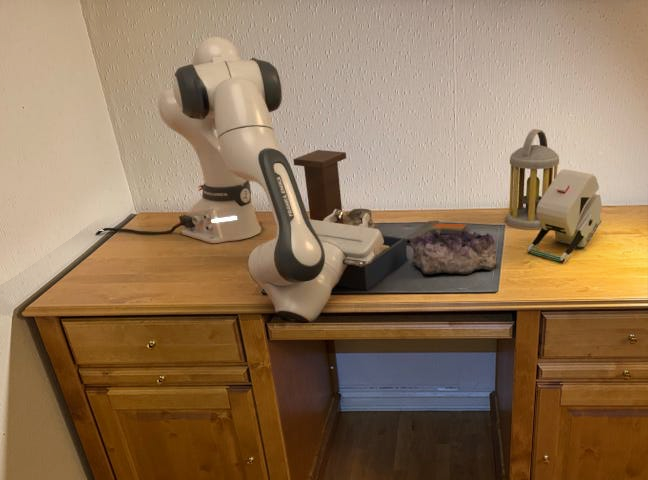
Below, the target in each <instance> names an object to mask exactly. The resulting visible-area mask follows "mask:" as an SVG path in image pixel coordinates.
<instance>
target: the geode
mask: <svg viewBox="0 0 648 480" xmlns="http://www.w3.org/2000/svg"><path fill="white" fill-rule="evenodd" d="M410 247H411V248H412V250H413V253H412V260H411V264H412V265H414V266H415V267H417V268H418V269H420V271H421V273H422V274H424V275H434V274H442V273H445V274H450V275H451V274H454V275H455V274H457V275H469V274H471V273H473V272H474V271H479V270H486V271H493V270H494V269H496V266H497V260H496V254H497V250H496V246H495V239H494V237H493V235H491V234H490V233H488V232H487V233H486V234H483V235H482V234H480V233H478V232H476V231H474V232H473V234H472V233H470V232H467V230H466V231H462V233H461V235H459V234H458V232H456V233H453V234H451V235H449V234H441V235H440V234H435V235H433V236H432V235H430V234H426V235H424V236H423V238H421V237H416V238H412V240H411V245H410Z"/></svg>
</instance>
